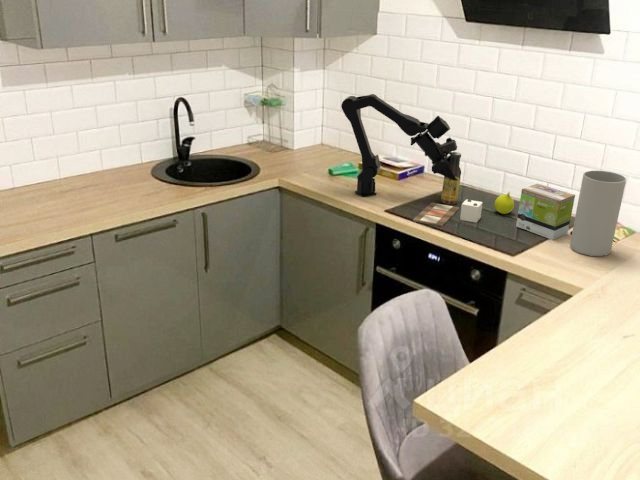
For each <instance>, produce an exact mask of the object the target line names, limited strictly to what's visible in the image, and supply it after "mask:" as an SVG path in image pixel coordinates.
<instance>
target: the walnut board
mask: <svg viewBox="0 0 640 480" xmlns="http://www.w3.org/2000/svg"><path fill="white" fill-rule="evenodd" d="M458 211H460V207H459V206H453V205H449V204H444V203H443V204H441V203H438V202H437V203H436V202H431V203H429V204H428V205H427V206H426V207H425V208H424V209H423V210H422V211H421V212H419V213H418V214H417V215H416V216H415V217H414V218H413V219H412V222H414V223H415V222H416V223H421V224H426V225H431V226H435V227H436V226H437V227H442V228H443V227H444V226H445V224H447V222H449V221H450V219H451V218H453V216H454V215H455V214H456V213H457V212H458Z"/></svg>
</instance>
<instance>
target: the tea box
mask: <svg viewBox="0 0 640 480" xmlns="http://www.w3.org/2000/svg"><path fill="white" fill-rule="evenodd" d="M520 192H521V194H520V199H519V205H518V211H517V218H516V223H515V224H516V225H515V226H516V228H519V229H523V230H526V231H528V232H531V233H533V234H536V235H539V236H541V237H544V238H546V239H549V240H551V241H553V240H556V239H557V238H560V237H563V236H565V235H567V234H568V233H569V229H570V224H571V218H572V215H573V214H572V213H573V209H574V203H575V198H576V194H573V193H570V192H567V191H564V190H561V189H557V188H554V187H550V186H547V185H544V184H540V183H535V184H532V185H530V186H526V187H524V188H521V191H520Z"/></svg>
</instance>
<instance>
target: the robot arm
mask: <svg viewBox="0 0 640 480" xmlns="http://www.w3.org/2000/svg"><path fill="white" fill-rule="evenodd" d="M340 107H341V110H342V112H343V114H344V116H345V117H346V119H347V120H348V121H349V122H350V125H351V128H352V131H353V134H354V137H355V140H356V143H357V146H358V149H359V152H360V156H361V168H362V169H361V171H360V172H359V173H358V174H357V177H356V178H357V185H356V187H357V188H356V190H354V194H357V195H359V196H361V197H363V198H364V197H365V198H366V197H370V196H376V195H377V193H376V178H375V177H376V176H377V175H378V173H379V172H380V170H381V165H382V162H381V161H380V157H379V154H376V155H375V154H374V153H373V151H372V148H371V145H370V142H369V140H368V136H367V132H366V129H365V127H364V124H363V121H362V117H361V114H362V113H361V111H362V110H361V109H364V108H367V107H369V108H370V107H371V108H373V109H374V110H376V111H377V112H379V114H382V115H383V116H385V117H386V118H387V119H389V120H391V121H393V123H395V124H396V125H397V126H398V127H399V129H400V130H401V131H402V132H404V133H405V135H406V136H409V137H410V146H413V145H415V144H417V146H418V147H419V149H421V151H422V152H424V156H425V157H428V158H429V160H431V164H432V165H431V172H432V173H433V174H435V175H436V174H439V175H441V176H443V177H444V176H445V177H448V178H450V179H452V180H455V179H456V177H455V176H454V174H453V172H452V171H451V169H450V168H449V162H450V153H451V152H456V151H457V150H458V145H457V141H456V140H455V139H453V138H451V137H448V138H446V140H445V142H443V143H442V144H440V142H437V141H436V140H434V139H438V140H439V139H440V138H441V137H442V136H444V135H445V134H446V133H447V132H449V131H450V130H451V126H449V123H448V122H447V121H446V120H444V119H443V118H442V117H440V115H437V116H436V117H435V118H434V119H432V121H430V122H429V123H428V122H423V121H420V119H418V118H416V117H414V116H411V115H409V114H407V113H406V114H405V113H403V112H401V111H399V110H398V109H396V108H395V107H394V106H393V105H390V104H389V103H387V102H386V101H384V100H383V99H381V98H380V97H379V96H377V95H376V94H374V93H370V94H368V95H360V96H355V95H350V96H347V97H346V98H345V99H344V100H343V101H342V103H341V106H340ZM413 136H414V137H413Z"/></svg>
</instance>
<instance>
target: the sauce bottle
mask: <svg viewBox="0 0 640 480" xmlns="http://www.w3.org/2000/svg"><path fill="white" fill-rule="evenodd" d="M449 156H450V162H449V168H450V169H451V171H452V172H453V174H454V176H455V177H456V179H455V180H452V179H450V178H448V177H445V176H443V180H442V181H443V183H442V189H441V195H440V197H441V198H440V199H441V200H440V202H442V203H443V205H449V206H453V205H455V204H457V202H458V197H459V192H460V190H459V189H460V184H461V175H462V169H461V167H460V164H461V163H460V162H461V158H462V153H461V152H459V151H451V153H450V154H449Z"/></svg>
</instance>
